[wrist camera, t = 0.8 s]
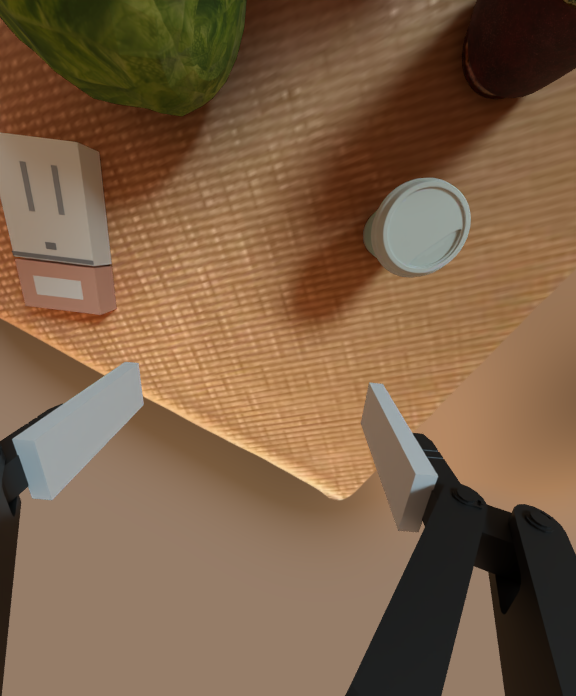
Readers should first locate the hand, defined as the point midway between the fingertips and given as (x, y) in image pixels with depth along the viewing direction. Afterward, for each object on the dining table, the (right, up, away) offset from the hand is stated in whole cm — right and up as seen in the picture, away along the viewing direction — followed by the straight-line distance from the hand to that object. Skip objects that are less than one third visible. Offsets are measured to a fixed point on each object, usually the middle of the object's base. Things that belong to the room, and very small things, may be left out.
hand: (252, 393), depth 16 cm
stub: (-27, +12, +23) cm, 38 cm away
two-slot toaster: (-26, +21, +20) cm, 39 cm away
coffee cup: (+14, +17, +20) cm, 30 cm away
